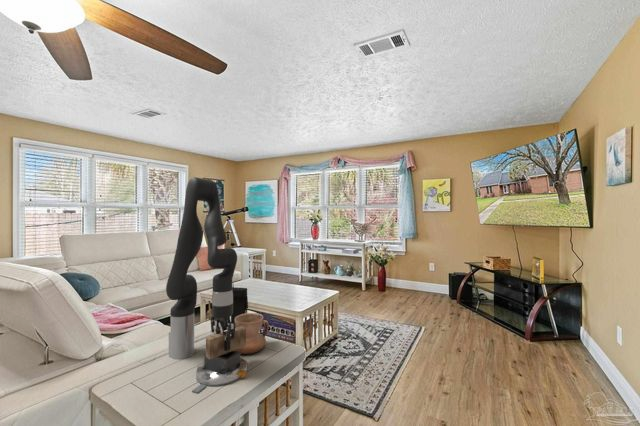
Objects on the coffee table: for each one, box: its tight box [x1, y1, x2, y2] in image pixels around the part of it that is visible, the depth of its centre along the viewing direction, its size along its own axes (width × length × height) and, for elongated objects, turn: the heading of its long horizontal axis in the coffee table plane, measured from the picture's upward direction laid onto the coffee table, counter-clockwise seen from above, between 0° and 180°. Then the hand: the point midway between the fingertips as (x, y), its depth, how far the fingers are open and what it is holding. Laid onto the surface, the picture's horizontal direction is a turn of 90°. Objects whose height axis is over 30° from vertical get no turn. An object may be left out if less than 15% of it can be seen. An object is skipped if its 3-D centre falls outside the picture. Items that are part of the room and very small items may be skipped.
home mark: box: [191, 383, 207, 394], centre depth 101 cm, size 2×4×1 cm, turn 158°
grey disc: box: [195, 350, 248, 387], centre depth 111 cm, size 19×18×7 cm
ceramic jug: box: [235, 312, 269, 355], centre depth 131 cm, size 18×14×14 cm
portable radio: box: [230, 283, 249, 327], centre depth 147 cm, size 8×6×25 cm
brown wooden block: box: [205, 326, 246, 359], centre depth 113 cm, size 7×3×15 cm
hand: (222, 347), depth 111 cm, fingers open, 6 cm apart
